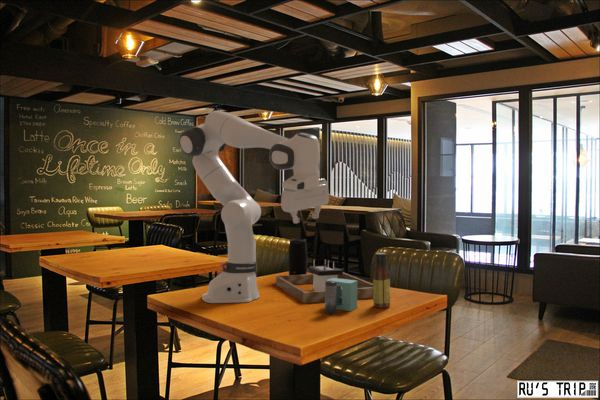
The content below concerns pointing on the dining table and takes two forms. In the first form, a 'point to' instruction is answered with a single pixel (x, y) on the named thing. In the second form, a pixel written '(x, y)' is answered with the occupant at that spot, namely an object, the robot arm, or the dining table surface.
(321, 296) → the tray frame
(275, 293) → the dining table surface
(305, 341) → the dining table surface
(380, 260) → the sauce bottle
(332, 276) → the black-topped pedestal
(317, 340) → the dining table surface
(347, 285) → the eye block
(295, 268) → the portable speaker
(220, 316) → the dining table surface
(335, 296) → the dark piece
